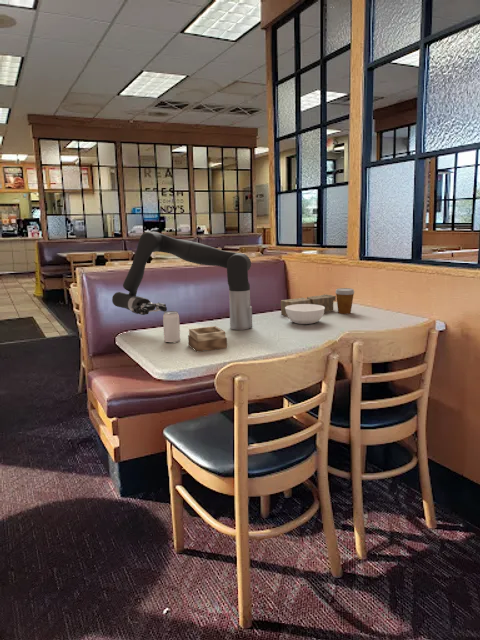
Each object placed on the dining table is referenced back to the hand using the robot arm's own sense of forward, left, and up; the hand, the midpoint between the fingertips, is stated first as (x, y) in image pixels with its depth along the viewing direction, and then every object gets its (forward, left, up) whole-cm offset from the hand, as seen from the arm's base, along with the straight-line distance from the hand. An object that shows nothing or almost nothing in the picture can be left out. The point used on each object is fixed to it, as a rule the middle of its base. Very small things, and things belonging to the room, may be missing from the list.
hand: (156, 310), depth 205 cm
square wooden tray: (-13, +26, -7) cm, 30 cm away
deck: (-13, +26, -11) cm, 31 cm away
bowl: (-68, +6, -12) cm, 69 cm away
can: (-3, +11, -11) cm, 16 cm away
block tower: (-82, -14, -12) cm, 84 cm away
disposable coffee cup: (-97, -4, -11) cm, 98 cm away
